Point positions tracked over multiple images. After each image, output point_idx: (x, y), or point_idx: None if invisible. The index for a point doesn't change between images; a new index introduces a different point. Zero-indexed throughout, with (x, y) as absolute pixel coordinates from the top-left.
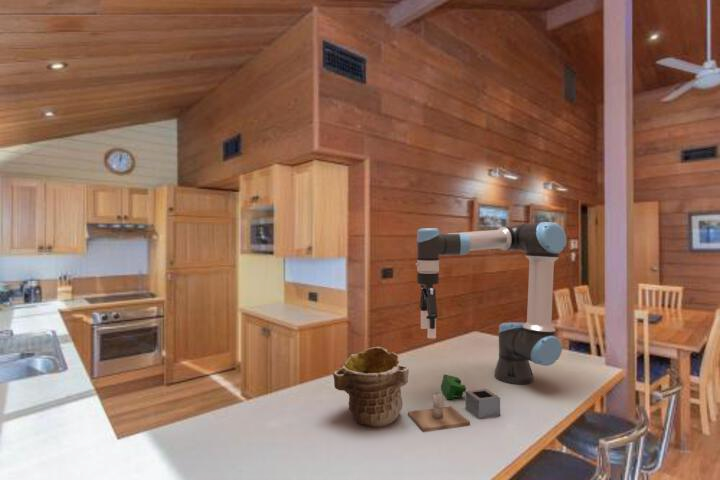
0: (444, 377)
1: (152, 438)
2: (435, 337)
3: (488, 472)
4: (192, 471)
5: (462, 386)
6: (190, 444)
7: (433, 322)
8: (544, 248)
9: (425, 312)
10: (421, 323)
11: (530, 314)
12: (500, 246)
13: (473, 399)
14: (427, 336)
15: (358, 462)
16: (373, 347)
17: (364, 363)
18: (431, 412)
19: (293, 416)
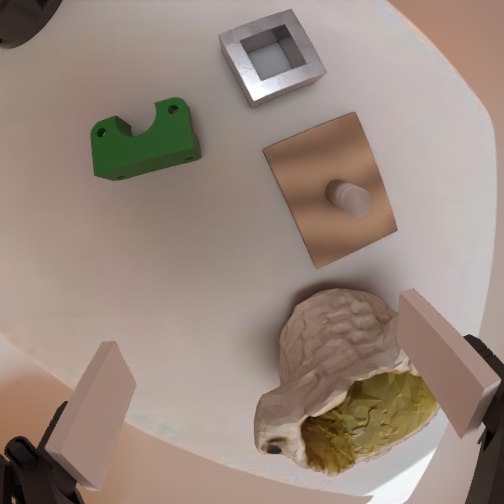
0: (110, 172)
1: (374, 489)
2: (415, 294)
3: (492, 129)
4: (437, 441)
5: (168, 109)
6: (391, 468)
7: (498, 371)
8: None
9: (82, 459)
10: (126, 409)
11: None
12: None
13: (297, 84)
14: (401, 345)
15: (465, 320)
16: (304, 464)
17: (310, 439)
18: (314, 208)
19: None
